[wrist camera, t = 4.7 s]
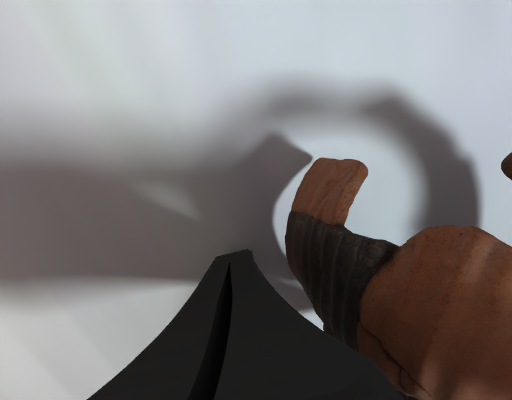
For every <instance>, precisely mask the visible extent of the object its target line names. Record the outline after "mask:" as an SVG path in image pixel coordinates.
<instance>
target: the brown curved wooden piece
mask: <svg viewBox="0 0 512 400" xmlns="http://www.w3.org/2000/svg"><path fill="white" fill-rule="evenodd" d="M501 169H502V171H503V173H504V174H505V175H506V176H507V177H508V178H510V179H511V180H512V153H510V154H509V155H508V156H507V157H506V158H505V159H504V160H503V161H502V163H501ZM367 175H368V169H367V167H366V166H365V165H364V164H363V163H362V162H360V161H357V160H353V159H344V160H337V159H328V158H319V159H317V160H316V161H315V162H314V163H313V165H312V166H311V168H310V169H309V170H308V171H307V173H306V174H305V176H304V178H303V180H302V182H301V184H300V186H299V188H298V190H297V192H296V195H295V198H294V201H293V204H292V208H291V212H290V213H289V216H288V222H287V229H286V235H285V245H286V256H287V260H288V264H289V267H290V269H291V271H292V272H293V274H294V275H295V277H296V278H297V280H298V281H299V282H300V283H301V285H302V287H303V289H304V291H305V292H306V294H307V296H308V298H309V300H310V301H311V303H312V304H313V307H314V310H315V312H316V314H317V315H318V317H319V318H320V319H321V320H322V322H323V323H324V324H323V330H324V332H325V333H327V334H328V335H330V336H332V337H333V338H335V339H336V340H338V341H339V342H341V343H343V344H345V345H346V346H348V347H350V348H352V349H353V350H355V351H357V352H359V353H361V354H363V355H365V356H367V357H369V358H371V359H372V360H373V361H374V362H375V363H376V364H377V366H378V367H379V368H380V369H381V370H382V371H383V373H384V374H385V375H386V376H387V378H388V379H389V380H390V381H391V383H392V384H393V385H394V386H395V388H396V389H397V390H398V392H399V393H400V395H401V396H402V397H403V399H404V400H512V247H511V246H509V245H507V244H506V243H504V242H502V241H500V240H499V239H497V238H496V237H494V236H493V235H491V234H489V233H487V232H486V231H484V230H482V229H480V228H477V227H474V226H465V227H458V226H448V225H442V226H436V227H430V228H427V229H424V230H422V231H421V232H419V233H418V234H416V235H415V236H413V237H411V238H410V239H409V240H407V242H406V243H405V244H404V245H402V246H400V247H399V246H397V245H395V244H393V243H391V242H388V241H386V240H379V239H373V238H368V237H365V236H361V235H358V234H354V233H352V232H351V231H349V230H348V229H347V228H345V227H344V224H345V221H346V219H347V216H348V212H349V208H350V206H351V205H352V203H353V201H354V198H355V196H356V194H357V193H358V191H359V189H360V187H361V185H362V183H363V182H364V180H365V179H366V177H367Z"/></svg>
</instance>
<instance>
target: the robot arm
mask: <svg viewBox="0 0 512 400" xmlns="http://www.w3.org/2000/svg"><path fill="white" fill-rule="evenodd" d="M87 400H404V399H403V397H402V396H401V395H400V393H399V392H398V390H397V389H396V388H395V386H394V385H393V384H392V383H391V381H390V380H389V379H388V378H387V376H386V375H385V374H384V373H383V371H382V370H381V369H380V368H379V367H378V366H377V364H376V363H375V362H374V361H373V360H372V359H371V358H369V357H367V356H365V355H363V354H361V353H359V352H357V351H355V350H353V349H352V348H350V347H348V346H346V345H345V344H343V343H341V342H339V341H338V340H336V339H335V338H333V337H332V336H330V335H328V334H327V333H325V332H324V331H322V330H321V329H320V328H318V327H317V326H315V325H314V324H313V323H311V322H310V321H309V320H307V319H306V318H305V317H303V316H302V315H301V314H299V313H298V312H297V311H296V310H295V309H294V308H293V307H291V306H290V305H289V304H288V303H287V302H286V301H285V300H284V299H283V298H282V297H281V296H280V295H279V294H278V293H277V292H276V291H275V289H274V288H273V287H272V286H271V285H270V284H269V282H268V281H267V280H266V278H265V277H264V276H263V274H262V273H261V271H260V270H259V268H258V267H257V265H256V263H255V261H254V259H253V255H252V252H251V251H250V250H248V249H246V250H242V251H238V252H234V253H230V254H226V255H222V256H218V257H216V258H215V260H214V261H213V263H212V264H211V266H210V267H209V269H208V271H207V272H206V274H205V275H204V277H203V279H202V280H201V282H200V283H199V285H198V286H197V288H196V289H195V291H194V292H193V294H192V295H191V296H190V298H189V299H188V300H187V302H186V303H185V304H184V306H183V307H182V308H181V310H180V311H179V312H178V314H177V315H176V316H175V317H174V318H173V320H172V321H171V322H170V323H169V324H168V325H167V326H166V328H165V329H164V330H163V331H162V332H161V333H160V334H159V335H158V336H157V337H156V338H155V340H154V341H152V342H151V343H150V344H149V345H148V346H147V347H146V348H145V349H144V350H143V351H142V352H141V353H140V354H139V355H138V356H137V357H136V358H135V359H134V360H133V361H132V362H131V363H130V364H129V365H128V366H126V367H125V368H124V369H123V370H122V371H121V372H120V373H118V374H117V375H116V376H115V377H114V378H113V379H112V380H110V381H109V382H108V383H107V384H105V385H104V386H103V387H102V388H101V389H99V390H98V391H97V392H96V393H95V394H93V395H92V396H91V397H90V398H88V399H87Z"/></svg>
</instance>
